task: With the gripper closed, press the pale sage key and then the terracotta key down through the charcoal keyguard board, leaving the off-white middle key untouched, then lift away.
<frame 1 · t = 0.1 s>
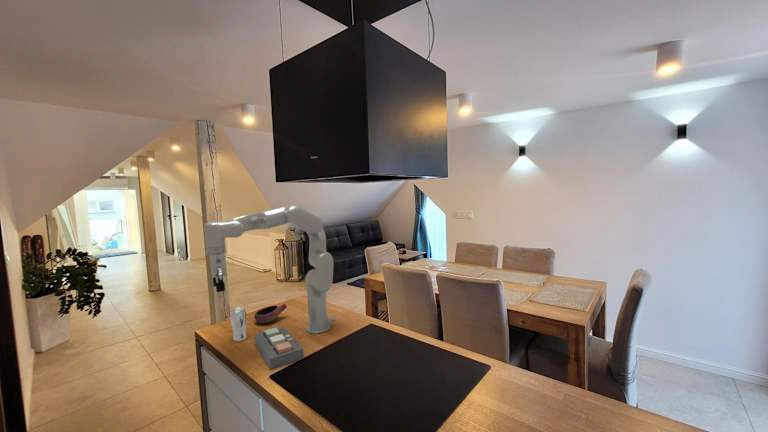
hand: (219, 288, 139), 31 cm above the counter, tool pointing down, fingers open, 9 cm apart
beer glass: (240, 338, 158), on the counter
bowl: (269, 320, 179), on the counter
white key: (277, 341, 145), point 5 cm above the counter, slide at 0.0 cm
terracotta key: (283, 348, 137), point 5 cm above the counter, slide at 0.0 cm
keyguard board: (278, 350, 145), on the counter
sage key: (272, 333, 152), point 5 cm above the counter, slide at 0.0 cm
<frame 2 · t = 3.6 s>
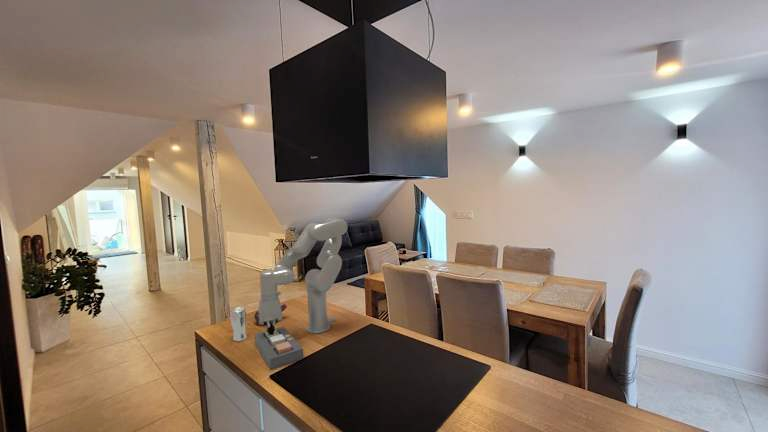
hand: (271, 333, 152), 5 cm above the counter, tool pointing down, fingers closed
sage key: (272, 336, 152), point 3 cm above the counter, slide at 1.3 cm, touching gripper
everything else where it was.
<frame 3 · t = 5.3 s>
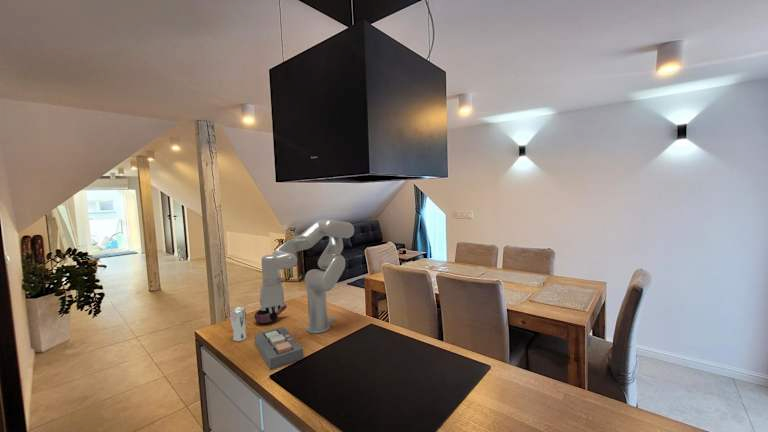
hand: (273, 320, 147), 13 cm above the counter, tool pointing down, fingers closed
sage key: (272, 336, 152), point 3 cm above the counter, slide at 1.5 cm
everything else where it was.
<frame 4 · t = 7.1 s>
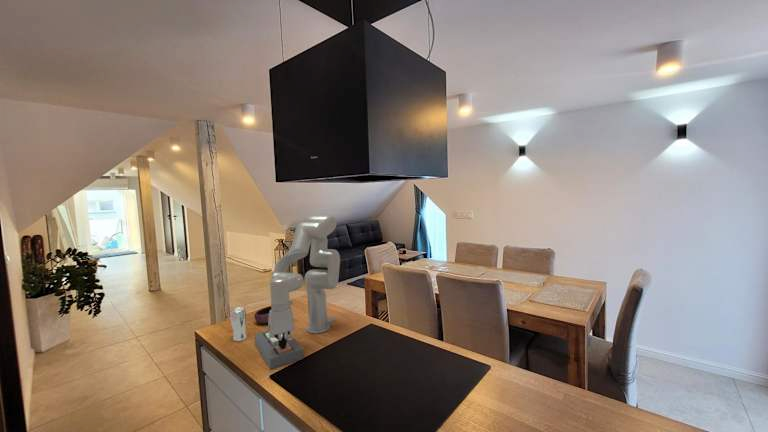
hand: (282, 347, 137), 5 cm above the counter, tool pointing down, fingers closed
terracotta key: (283, 350, 137), point 4 cm above the counter, slide at 0.7 cm, touching gripper
everything else where it was.
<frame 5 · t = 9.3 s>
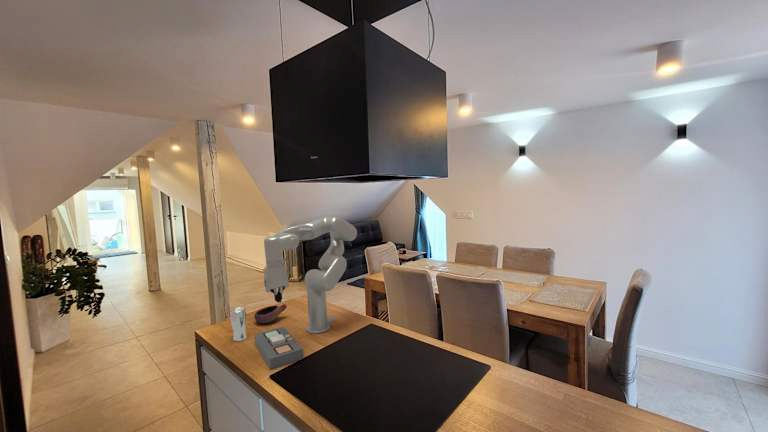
hand: (278, 301, 147), 22 cm above the counter, tool pointing down, fingers closed
terracotta key: (283, 352, 137), point 3 cm above the counter, slide at 1.5 cm
everything else where it was.
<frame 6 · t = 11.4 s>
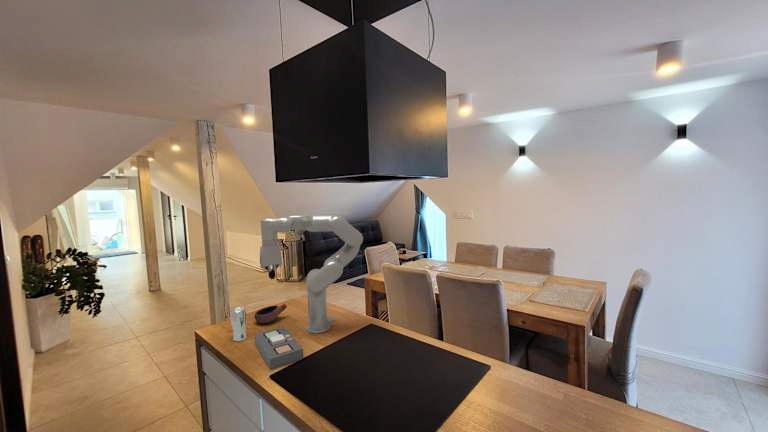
hand: (272, 278, 159), 29 cm above the counter, tool pointing down, fingers closed
nothing on the counter moved.
at the end: sage key slide at 1.5 cm; terracotta key slide at 1.5 cm; white key slide at 0.0 cm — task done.
